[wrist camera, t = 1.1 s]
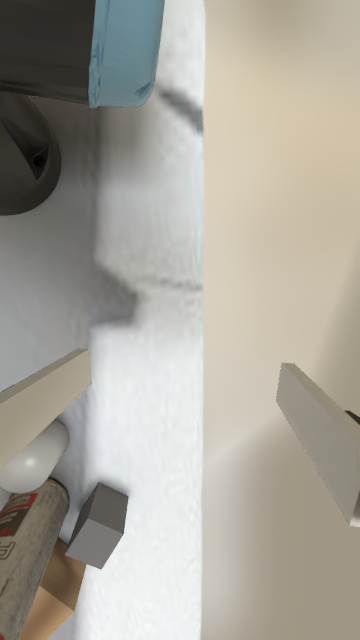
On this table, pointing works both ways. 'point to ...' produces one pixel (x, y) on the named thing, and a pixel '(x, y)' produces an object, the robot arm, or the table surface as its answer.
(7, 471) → the white rounded cylinder
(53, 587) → the walnut block
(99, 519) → the charcoal rubber cube
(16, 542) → the red-banded paper cylinder
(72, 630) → the table surface
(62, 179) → the table surface
